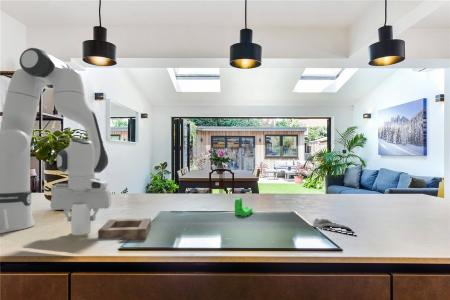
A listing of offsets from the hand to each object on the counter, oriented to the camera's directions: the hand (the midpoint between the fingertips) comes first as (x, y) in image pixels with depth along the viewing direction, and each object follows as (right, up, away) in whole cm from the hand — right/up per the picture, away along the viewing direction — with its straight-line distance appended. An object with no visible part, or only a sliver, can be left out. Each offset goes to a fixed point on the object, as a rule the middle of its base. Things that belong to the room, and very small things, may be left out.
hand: (81, 220), depth 108 cm
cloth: (+96, -6, +15) cm, 98 cm away
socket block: (+16, -5, +2) cm, 17 cm away
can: (0, -5, 0) cm, 5 cm away
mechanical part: (+62, -6, +39) cm, 74 cm away
